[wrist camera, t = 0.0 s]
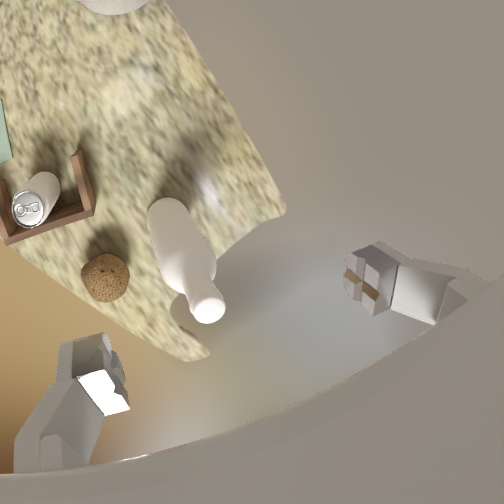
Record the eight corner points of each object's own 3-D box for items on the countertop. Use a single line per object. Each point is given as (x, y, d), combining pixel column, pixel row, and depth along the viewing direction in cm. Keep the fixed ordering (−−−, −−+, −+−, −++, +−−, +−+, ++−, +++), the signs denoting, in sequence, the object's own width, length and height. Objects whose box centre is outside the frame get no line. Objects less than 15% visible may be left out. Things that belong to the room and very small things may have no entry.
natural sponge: (136, 272, 60) (141, 300, 52) (99, 291, 58) (99, 321, 50) (115, 235, 55) (115, 259, 47) (76, 256, 53) (71, 283, 45)
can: (26, 174, 43) (5, 192, 33) (58, 167, 45) (43, 184, 36) (32, 209, 46) (14, 234, 36) (63, 202, 48) (51, 227, 39)
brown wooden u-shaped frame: (-1, 181, 41) (-14, 190, 36) (82, 149, 46) (77, 155, 41) (15, 231, 46) (6, 246, 41) (96, 203, 51) (93, 215, 46)
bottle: (154, 242, 59) (188, 349, 34) (139, 206, 55) (162, 298, 30) (192, 226, 61) (252, 321, 36) (180, 190, 57) (235, 267, 32)
